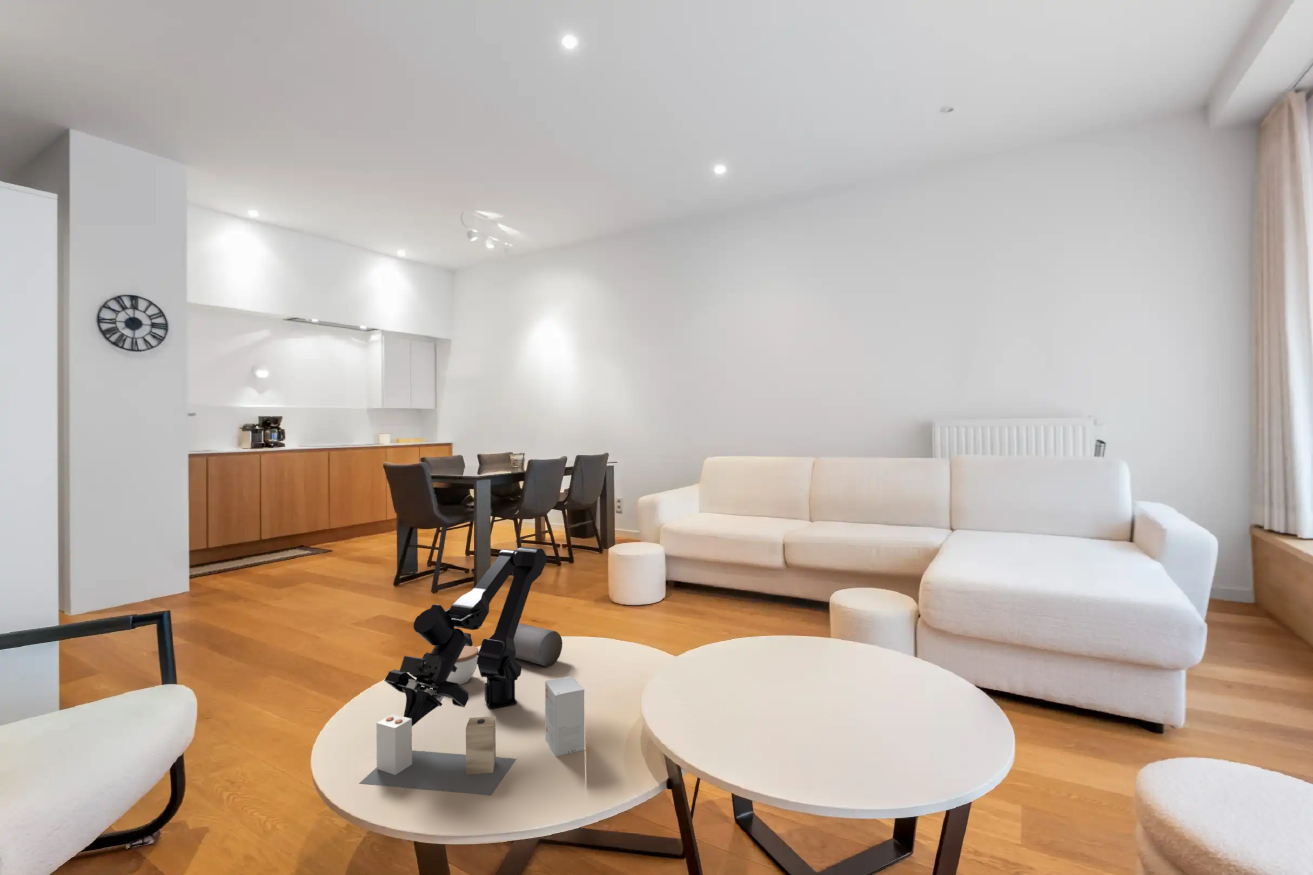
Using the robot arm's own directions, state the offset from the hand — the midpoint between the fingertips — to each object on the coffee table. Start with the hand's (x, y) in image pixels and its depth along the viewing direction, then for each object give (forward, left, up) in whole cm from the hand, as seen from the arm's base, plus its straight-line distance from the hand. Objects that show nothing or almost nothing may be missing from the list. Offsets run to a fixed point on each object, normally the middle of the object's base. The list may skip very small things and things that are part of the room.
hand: (403, 729), depth 117 cm
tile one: (-13, +9, -6) cm, 18 cm away
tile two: (+2, +1, -6) cm, 7 cm away
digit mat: (-6, +7, -7) cm, 11 cm away
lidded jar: (-15, -37, -7) cm, 41 cm away
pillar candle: (-40, -35, -2) cm, 53 cm away
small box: (-31, +8, -7) cm, 33 cm away
